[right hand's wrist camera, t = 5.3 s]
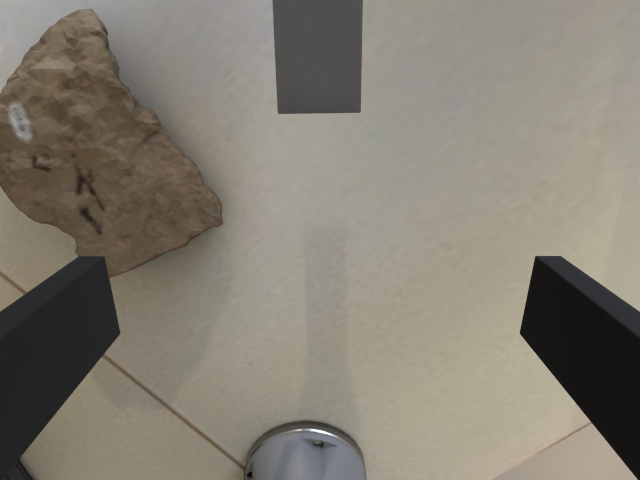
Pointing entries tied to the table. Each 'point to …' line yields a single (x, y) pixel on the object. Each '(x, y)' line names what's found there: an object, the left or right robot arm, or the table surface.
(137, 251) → the stone
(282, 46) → the bar
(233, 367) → the table surface
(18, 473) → the graphics card box
